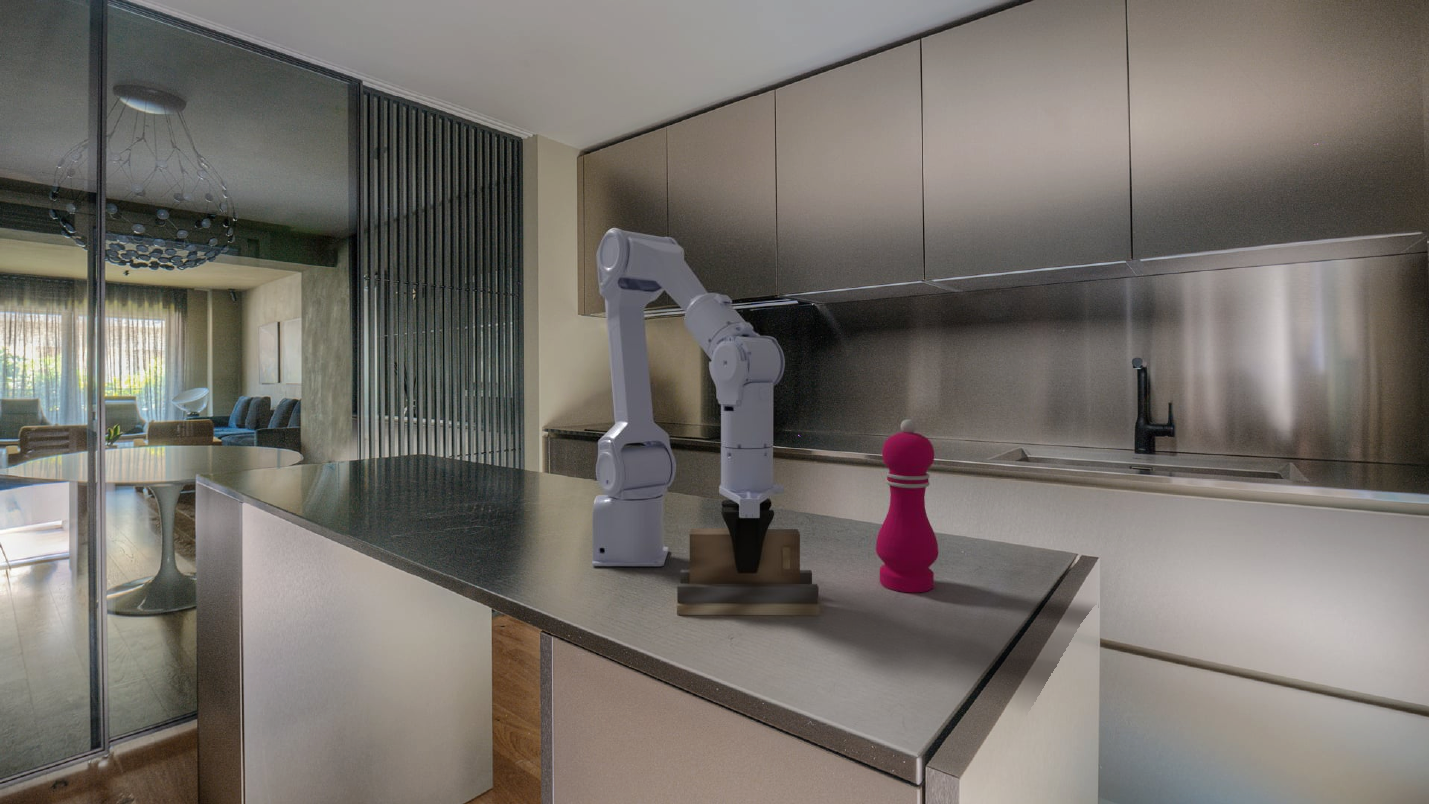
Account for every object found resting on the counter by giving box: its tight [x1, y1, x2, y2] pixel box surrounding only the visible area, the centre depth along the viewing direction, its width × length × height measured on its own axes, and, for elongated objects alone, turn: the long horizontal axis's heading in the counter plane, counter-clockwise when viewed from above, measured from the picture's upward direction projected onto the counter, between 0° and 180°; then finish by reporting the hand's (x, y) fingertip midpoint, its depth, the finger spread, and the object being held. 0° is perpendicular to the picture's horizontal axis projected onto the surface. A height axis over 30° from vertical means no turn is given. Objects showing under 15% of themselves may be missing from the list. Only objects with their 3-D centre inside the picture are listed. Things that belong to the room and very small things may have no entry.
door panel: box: [689, 528, 801, 584], centre depth 70 cm, size 12×3×7 cm, turn 89°
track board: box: [676, 569, 820, 616], centre depth 70 cm, size 15×7×3 cm, turn 89°
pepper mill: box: [875, 418, 939, 594], centre depth 76 cm, size 7×7×20 cm
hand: (746, 568), depth 70 cm, fingers closed on door panel, 2 cm apart
